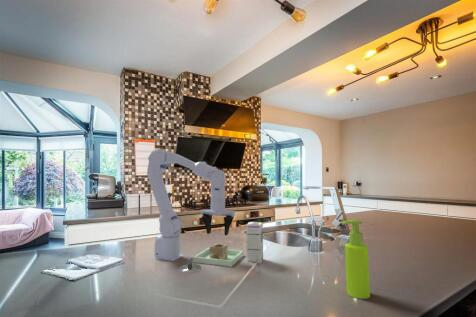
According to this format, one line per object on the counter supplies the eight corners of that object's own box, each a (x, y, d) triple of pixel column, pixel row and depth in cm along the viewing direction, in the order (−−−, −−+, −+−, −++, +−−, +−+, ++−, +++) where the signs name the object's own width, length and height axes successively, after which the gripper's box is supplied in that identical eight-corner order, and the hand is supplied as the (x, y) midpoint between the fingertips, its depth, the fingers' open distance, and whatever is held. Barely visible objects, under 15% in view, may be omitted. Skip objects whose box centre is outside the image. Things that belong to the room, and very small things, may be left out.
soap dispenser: (339, 289, 72) (336, 219, 74) (362, 288, 73) (359, 218, 74) (349, 299, 66) (347, 222, 68) (374, 298, 67) (371, 222, 69)
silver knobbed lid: (173, 272, 85) (173, 261, 86) (185, 264, 93) (185, 254, 93) (194, 275, 83) (194, 263, 83) (205, 267, 90) (205, 256, 91)
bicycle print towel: (125, 264, 96) (125, 258, 96) (71, 284, 77) (71, 276, 78) (92, 257, 104) (92, 252, 104) (36, 274, 85) (36, 267, 86)
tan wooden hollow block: (215, 256, 102) (215, 243, 102) (227, 257, 100) (227, 244, 100) (208, 261, 95) (208, 247, 96) (221, 262, 94) (221, 248, 94)
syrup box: (261, 263, 94) (261, 224, 95) (246, 262, 95) (246, 223, 97) (263, 259, 100) (263, 221, 101) (248, 258, 101) (248, 221, 102)
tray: (192, 263, 94) (192, 257, 95) (208, 253, 107) (208, 247, 107) (231, 268, 89) (231, 261, 90) (243, 257, 102) (243, 251, 102)
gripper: (197, 199, 100) (196, 234, 99) (231, 201, 95) (230, 237, 94) (205, 198, 106) (204, 231, 105) (237, 199, 102) (237, 233, 101)
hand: (217, 234), depth 100 cm, fingers open, 7 cm apart
